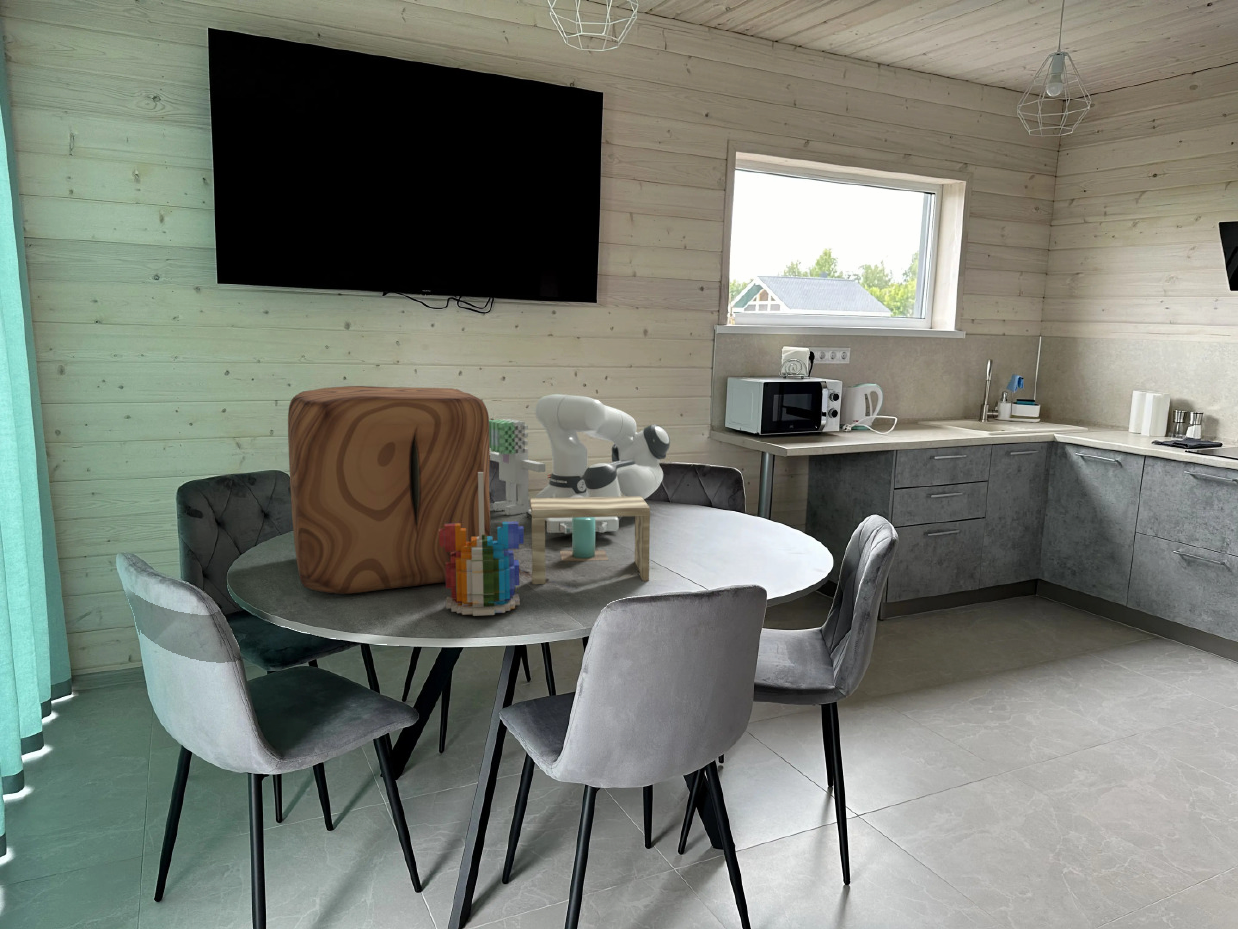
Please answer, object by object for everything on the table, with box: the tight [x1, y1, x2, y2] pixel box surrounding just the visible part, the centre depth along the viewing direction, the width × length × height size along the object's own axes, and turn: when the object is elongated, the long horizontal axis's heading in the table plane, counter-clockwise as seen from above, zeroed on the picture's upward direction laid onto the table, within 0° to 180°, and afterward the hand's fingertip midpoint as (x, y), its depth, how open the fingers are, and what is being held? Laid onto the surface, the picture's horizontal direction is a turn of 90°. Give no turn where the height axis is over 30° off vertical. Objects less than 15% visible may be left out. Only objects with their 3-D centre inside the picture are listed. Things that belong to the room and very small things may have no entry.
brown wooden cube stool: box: [287, 385, 491, 595], centre depth 216 cm, size 45×45×45 cm
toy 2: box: [489, 418, 546, 516], centre depth 285 cm, size 30×10×30 cm, turn 39°
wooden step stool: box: [529, 496, 651, 585], centre depth 215 cm, size 14×28×18 cm, turn 97°
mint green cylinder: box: [571, 517, 596, 558], centre depth 230 cm, size 6×6×10 cm
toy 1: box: [439, 472, 525, 617], centre depth 188 cm, size 18×16×30 cm
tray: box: [559, 549, 609, 562], centre depth 231 cm, size 10×12×1 cm
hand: (584, 530), depth 239 cm, fingers open, 8 cm apart
